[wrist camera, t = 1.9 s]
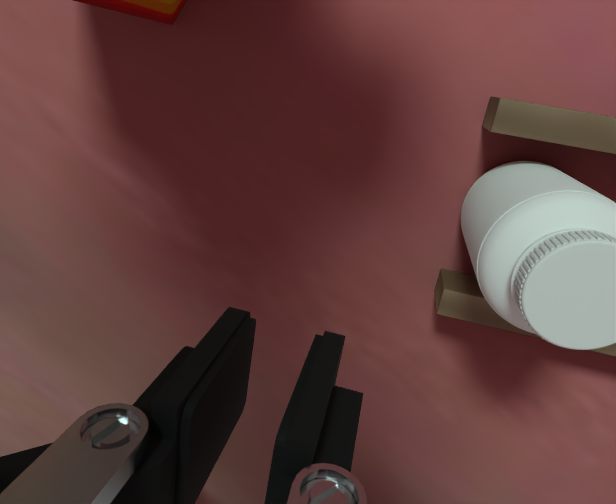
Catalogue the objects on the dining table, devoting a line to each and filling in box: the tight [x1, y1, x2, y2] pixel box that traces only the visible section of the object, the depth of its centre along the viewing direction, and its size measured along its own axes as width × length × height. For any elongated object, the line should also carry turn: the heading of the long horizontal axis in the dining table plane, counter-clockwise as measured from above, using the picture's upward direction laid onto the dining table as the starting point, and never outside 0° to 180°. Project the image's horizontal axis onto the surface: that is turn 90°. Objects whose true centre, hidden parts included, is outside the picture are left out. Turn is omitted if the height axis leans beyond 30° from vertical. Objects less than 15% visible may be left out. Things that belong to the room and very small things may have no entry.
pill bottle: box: [461, 161, 616, 350], centre depth 27 cm, size 8×8×15 cm
